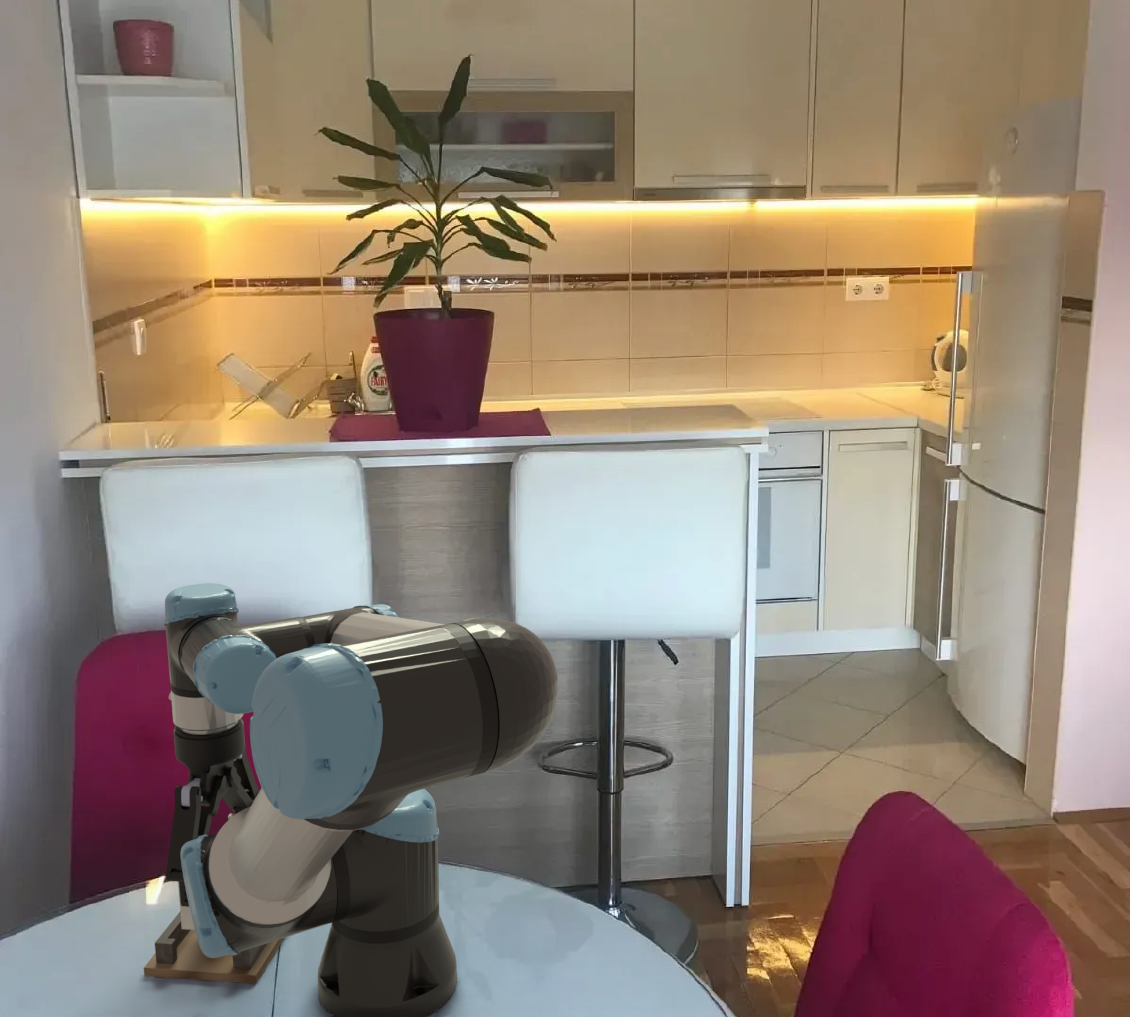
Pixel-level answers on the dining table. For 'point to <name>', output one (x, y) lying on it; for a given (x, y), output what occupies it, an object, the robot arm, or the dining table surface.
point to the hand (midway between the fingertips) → (220, 895)
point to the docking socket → (205, 958)
